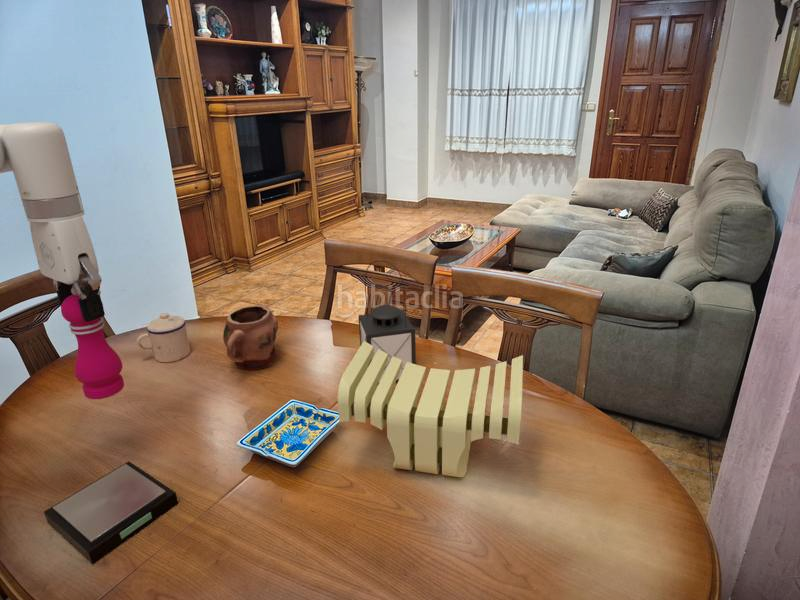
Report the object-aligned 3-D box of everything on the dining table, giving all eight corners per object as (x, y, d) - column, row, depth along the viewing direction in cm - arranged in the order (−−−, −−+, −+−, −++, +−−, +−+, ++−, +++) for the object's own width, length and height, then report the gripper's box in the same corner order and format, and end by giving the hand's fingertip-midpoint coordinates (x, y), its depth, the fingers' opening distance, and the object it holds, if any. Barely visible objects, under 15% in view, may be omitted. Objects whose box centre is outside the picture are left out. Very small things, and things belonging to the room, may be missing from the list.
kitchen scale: (92, 564, 74) (87, 549, 73) (47, 523, 82) (42, 508, 80) (178, 503, 85) (175, 489, 84) (131, 471, 92) (128, 458, 91)
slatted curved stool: (343, 469, 92) (336, 384, 85) (368, 417, 106) (364, 340, 99) (514, 494, 85) (521, 405, 78) (516, 435, 99) (523, 355, 92)
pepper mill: (119, 375, 96) (93, 274, 88) (133, 389, 91) (107, 284, 83) (76, 390, 91) (44, 285, 83) (89, 406, 86) (57, 297, 79)
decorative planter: (263, 388, 117) (255, 333, 112) (212, 385, 118) (202, 332, 113) (290, 346, 135) (284, 298, 130) (246, 345, 137) (238, 297, 131)
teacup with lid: (189, 343, 138) (181, 304, 134) (193, 358, 131) (185, 316, 126) (140, 354, 133) (130, 313, 129) (142, 369, 126) (131, 327, 121)
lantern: (360, 363, 126) (353, 255, 115) (404, 357, 129) (402, 251, 118) (369, 387, 116) (362, 272, 105) (416, 380, 119) (414, 266, 108)
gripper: (1, 206, 80) (34, 311, 87) (56, 219, 71) (88, 335, 78) (52, 197, 86) (79, 297, 93) (109, 208, 77) (134, 317, 84)
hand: (83, 313), depth 85 cm, fingers closed on pepper mill, 6 cm apart
